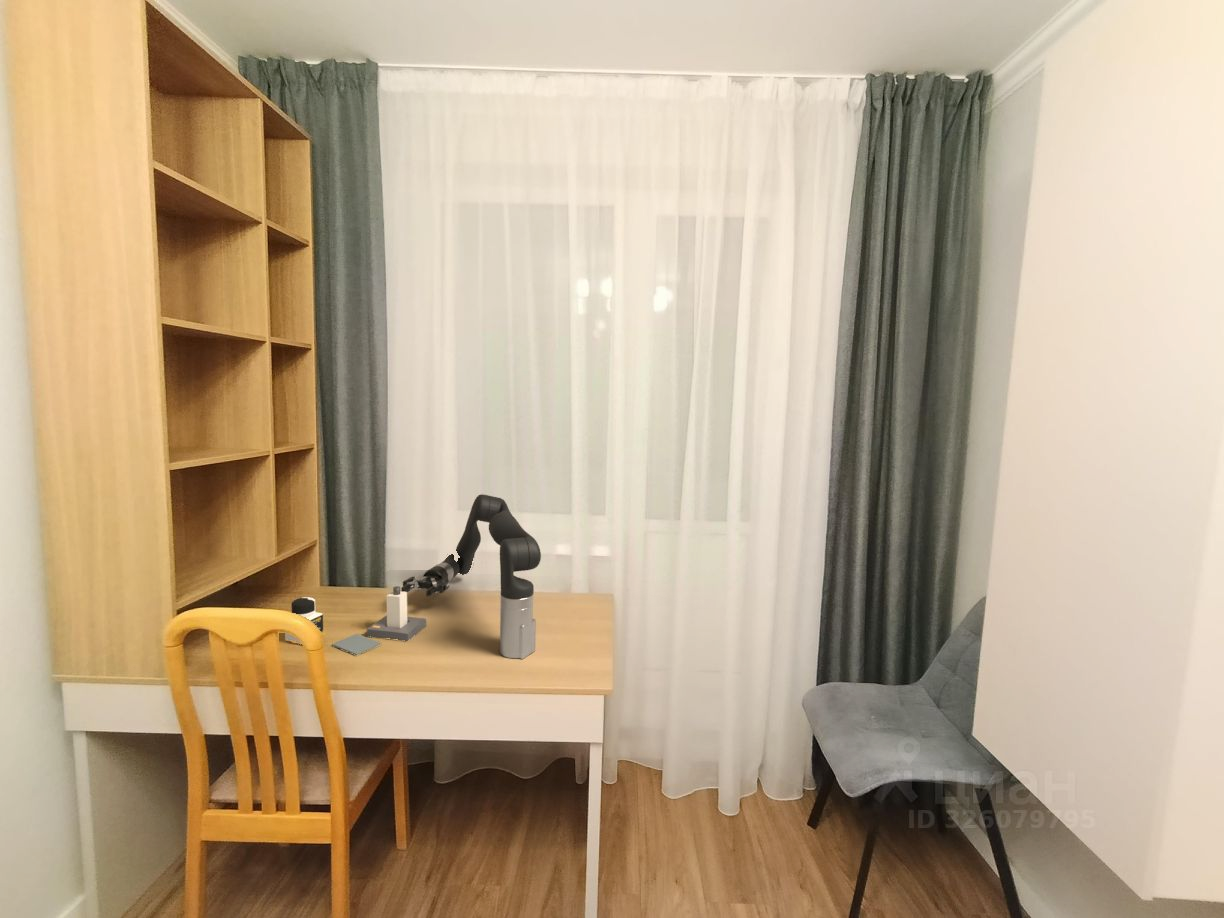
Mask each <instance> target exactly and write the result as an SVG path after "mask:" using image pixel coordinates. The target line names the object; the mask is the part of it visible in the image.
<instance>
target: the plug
mask: <svg viewBox="0 0 1224 918" xmlns="http://www.w3.org/2000/svg"><path fill="white" fill-rule="evenodd" d="M386 615H387V627H394V628H402V627H403V626H404V625H406V624H407V617H408V592H402V591H401V586H400V585H399V586H398V585H397V586H393V589H392V591H391V592H390V593H389V594H387V595H386Z"/></svg>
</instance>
